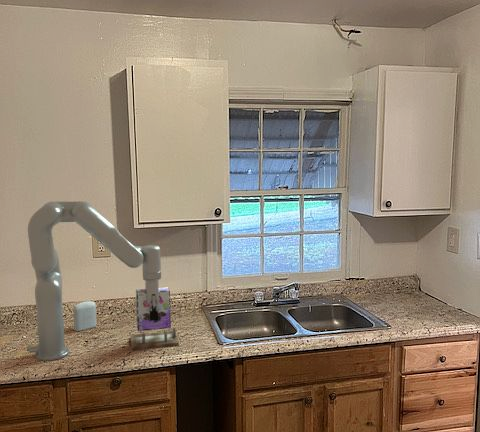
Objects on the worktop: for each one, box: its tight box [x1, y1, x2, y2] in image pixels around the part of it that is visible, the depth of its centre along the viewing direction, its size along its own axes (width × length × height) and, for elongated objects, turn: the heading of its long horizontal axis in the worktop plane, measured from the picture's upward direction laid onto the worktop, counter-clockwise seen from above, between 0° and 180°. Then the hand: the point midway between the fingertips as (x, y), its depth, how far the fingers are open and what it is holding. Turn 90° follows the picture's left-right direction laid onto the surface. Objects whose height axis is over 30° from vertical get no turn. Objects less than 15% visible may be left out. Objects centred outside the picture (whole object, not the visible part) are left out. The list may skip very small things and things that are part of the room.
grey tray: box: [130, 326, 180, 351], centre depth 206 cm, size 19×14×5 cm
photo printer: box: [72, 300, 98, 332], centre depth 222 cm, size 10×4×12 cm, turn 134°
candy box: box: [135, 286, 172, 332], centre depth 204 cm, size 14×6×16 cm, turn 105°
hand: (153, 317), depth 205 cm, fingers closed on candy box, 5 cm apart
